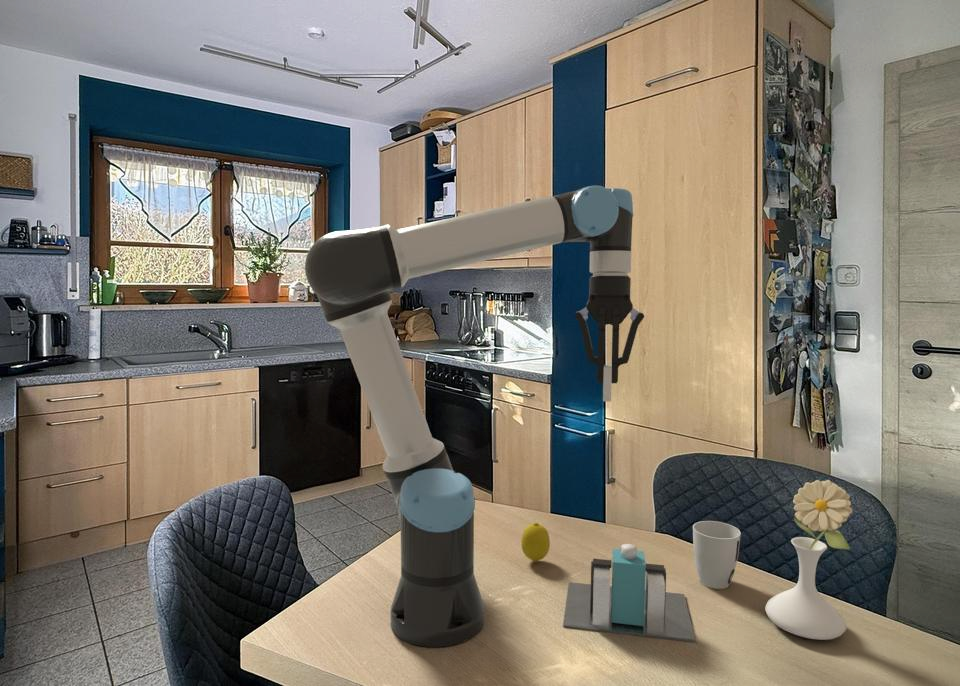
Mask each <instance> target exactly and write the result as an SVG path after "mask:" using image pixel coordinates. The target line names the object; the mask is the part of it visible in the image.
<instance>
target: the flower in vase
mask: <svg viewBox="0 0 960 686" xmlns="http://www.w3.org/2000/svg"><path fill="white" fill-rule="evenodd" d="M850 497H851V495H850V494H849V493H847V491H846V490H845V489H843V487H841V486H839V485H838V484H836V483H835V482H831V480H829V479H826V480H821V481H820V480H819V479H816V480H815V481H813V482H805V483H804V486H803V487H800V488H799V489H798V492H797V494H795V495H794V496H793V500H792V503H793V504H794V506H793V509H794V511H796V512H795V514H794V516H793V519H794V522H795V523H796V525H797V526H798V527H799V528H800V529H801V530H803V531H804V532H806V533H807V534H809V535H810V536H812V537H813V538H812V537H806V536H805V537H804V536H798V537H797V536H796V537H793V538H791V540H790V542H791V544H792V545H793V547H794V549H795V551H796V553H797V558H798V559H797V560H798V567H799V570H798V571H799V573H798V581H797V583H796V585H795V586H794V587H793V588H790V589H788V590H784V591H782V592H779V593H777V594H775V595H774V596H772V597H771V598H770V599H769V600H768V601H767V603H766V604H765V607H764V610H765V612H766V615H767V616H768V618H769V619H770V621H771V622H772V623H774V624H775V626H777V627H779V628H780V629H782V630H784V631H786V632H788V633H790V634H792V635H795V636H799V637H803V638H806V639H810V640H821V641H822V640H825V641H828V640H833V639H836V638H839V637H840V636H841V635H843V634H844V633H845V632H846V630H847V624H846V621H845V618H844V616H843V615H842V614H841V613H840V611H839V610H838V609H837V608H836V607H835V606H834V605H833V604H832V603H831V602H829V600H827V599H826V598H824V596H823V595H821V594H820V592H818V590H817V587H816V571H817V565H818V562H819V559H820V557H821V555H823V553H824V552H825V551H826V550H827V549H828V546H829V547H830V548H834V549H840V550H851V547H850V546H849V543H848V541H847V540H846V538H845V537H844V535H843V534H842V533H841V532H840V531H839V530H838V529H840V528H841V527H842V524H843V523H845V522H848V518H849V517H850V514H851V515H852V513H853V508H851V507H850V506H851V505H852V502H851V500H850ZM817 531H818V532H821V533H820V534H819V535H818V536H817V537H816V535H815V534H814V533H813V532H817ZM823 536H824V538H825V540H826V542H827V544H826V543H825V542H822V541H820V539H821V538H822V537H823ZM827 545H828V546H827Z"/></svg>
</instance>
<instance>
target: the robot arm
mask: <svg viewBox="0 0 960 686" xmlns="http://www.w3.org/2000/svg"><path fill="white" fill-rule="evenodd" d="M633 205H634V203H633V195H632V192H631V191H630V190H628V189H625V188H614V187H613V188H606V187H605V186H602V185H589V186H584V187H581V188H580V189H577V190H573V191H568V192H564V193H560V194H556V195H553V196H547V197H541V198H535V199H532V200H528V201H523V202H517V203H514V204H510V205H509V204H508V205H503V206H500V207H495V208H490V209H486V210H482V211H478V212H477V211H476V212H473V213H468V214H463V215H458V216H453V217H450V218H444V219H439V220H435V221H431V222H426V223H421V224H417V225H413V226H408V227H403V228H399V229H395V228H394V227H393V226H391V225H389V224H385V225H381V226H380V225H379V226H375V227H369V228H362V229H351V230H350V229H348V230H336V231H333V232H332V231H331V232H328V233H326V234H324V235H323V236H321V237H319V238H318V239H317V240H316V241H315V242H314V243H313V244H312V245H311V247H310V248H309V250H308V252H307V254H306V257H305V262H304V263H305V264H304V270H305V271H304V272H305V277H306V281H307V283H308V285H309V286H310V288H311V289H312V292H314V293H315V294H316V297H317V298H318V302H319V305H320V307H321V309H322V312H323V315H324V317H325V319H326V322H327V324H328V325H330V326H332V327H334V328H335V329H338V330H339V331H340V334H341V337H342V339H343V342H344V345H345V347H346V350H347V352H348V355H349V359H350V360H351V364H352V365H353V368H354V372H355V373H356V374H355V375H356V377H357V379H358V382H359V384H360V388H361V391H362V392H363V394H364V398H365V400H366V403H367V405H368V408H369V410H370V413H371V414H370V415H371V416H372V419H373V421H374V424H375V427H376V430H377V432H378V435H379V437H380V441H381V443H382V445H383V448H384V451H385V454H386V457H385V459H384V461H383V463H382V467H381V468H382V470H383V473H384V475H385V478H386V481H387V483H388V486H389V489H390V492H391V493H392V496H393V499H394V502H395V505H396V511H397V516H398V519H399V528H400V571H401V572H400V578H399V581H398V584H397V587H396V591H395V594H394V598H393V601H392V603H391V606H390V627H391V629H392V632H393V633H394V634H395V635H396V636H397V637H398V638H399V639H402V640H403V641H404V642H407V643H409V644H411V645H415V646H420V647H427V648H440V647H441V648H442V647H451V646H455V645H457V644H461V643H463V642H466V641H468V640H470V639H472V638H473V637H475V636H476V635H477V634H478V633H479V632H480V631H481V630H482V629H483V626H484V624H485V604H484V600H483V597H482V594H481V591H480V588H479V585H478V582H477V580H476V576H475V573H474V572H475V571H474V567H475V566H474V565H475V563H474V557H475V555H474V552H475V551H474V550H475V549H474V547H475V546H474V545H475V541H474V540H475V539H474V538H475V537H474V536H475V535H474V534H475V533H474V532H475V529H474V528H475V522H474V521H475V509H476V508H475V507H476V501H475V500H476V499H475V495H474V486H473V484H472V482H471V480H470V479H469V478H468V477H467V476H465V474H463V473H460V472H456V471H455V470H454V469H453V466H452V464H451V461H450V458H449V455H448V452H447V450H446V447H445V445H444V443H443V442H442V441H440V440H438V439H436V438H434V437H433V436H432V433H431V431H430V428H429V425H428V422H427V419H426V416H425V413H424V411H423V408H422V406H421V403H420V400H419V397H418V394H417V392H416V389H415V385H414V383H413V380H412V378H411V375H410V372H409V369H408V367H407V364H406V361H405V358H404V356H403V353H402V350H401V346H400V345H399V343H398V339H397V337H396V333H395V331H394V327H393V325H392V322H391V320H390V317H389V315H388V310H389V309H390V307H391V305H392V303H393V300H392V297H391V294H390V292H389V291H391V290H397V289H400V288H403V287H404V286H405V284H407V282H408V280H409V279H414V278H418V277H421V276H426V275H431V274H435V273H439V272H445V271H447V270H451V269H456V268H460V267H464V266H468V265H473V264H477V263H481V262H485V261H489V260H493V259H498V258H501V257H502V258H503V257H507V256H510V255H515V254H520V253H523V252H527V251H532V250H536V249H541V248H545V247H549V246H553V245H556V244H557V245H558V244H562V243H568V242H570V243H577V242H580V243H581V242H582V243H589V251H590V252H589V273H590V274H592V276H590V277H589V280H588V281H589V284H588V285H589V286H588V287H589V288H588V289H589V291H588V300H587V302H586V304H585V307H584V308H582V309H581V310H578V311H576V312H575V313H574V318H575V319H576V321H577V322H578V324H579V326H580V331H581V336H582V339H583V343H584V349H585V353H586V356H587V358H586V359H587V361H588V362H589V363H591V364H593V365H596V367H597V368H596V369H597V372H596V376H597V379H596V381H597V383H598V384H602V402H608V403H609V402H610V403H611V402H612V384H617V383H618V380H619V367H620V366H621V365H625V364H628V363H629V360H630V357H631V353H632V351H633V350H632V349H633V346H634V343H635V338H636V336H637V335H636V334H637V331H638V328H639V326H640V323H642V321H643V320H644V318H645V314H644V313H643V312H641V311H639V310H637V309H635V308H634V305H633V302H632V301H631V284H632V283H631V282H632V278H631V276H630V275H628V274H630V273H631V272H632V242H633V240H632V238H633V237H632V234H633V218H634V210H633V208H634V207H633ZM588 313H589V314H590V316H591V318H592V319H593V320H594V321H595V323H597V325H598V330H597V331H598V333H597V335H598V336H597V356H596V355H595V353H594V349H593V344H592V340H591V336H590V331H589V326H588V322H587V320H588V318H589V317H588V316H589V315H588ZM629 314H630V317H629V319H630V320H631V324H630V327H629V329H628V332H627V336H626V337H627V338H626V341H625V345H624V348H623V350H622V351H623V352H622V355H621V356H620V357H619V353H620V352H619V351H620V350H619V347H620V324H622V323H623V322H624V321H625V319H626V318H627V317H628V315H629ZM606 325H612V331H611V335H612V336H611V337H612V338H611V364H610V365H609V364H605V347H606V343H605V342H606Z"/></svg>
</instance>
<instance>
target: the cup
mask: <svg viewBox="0 0 960 686" xmlns="http://www.w3.org/2000/svg"><path fill="white" fill-rule="evenodd" d="M741 535H742V533H741V531H740V529H739V528H738V527H735V526H734V525H731V524H729V523H726V522H722V521H715V520H702V521H701V520H700V521H698V522H695V523H694V524H692V544H693V545H692V546H693V555H694V562H695V568H696V572H697V575H698V579H699V582H700V583H701V584H702V585H703V586H704V587H705V586H706V587H708V588H710V589H715V590H724V589H727V588H728V587H729V586H730V584H731V581H732V579H733V577H734V575H735V570H736V568H737V562H738V559H739V553H740V542H741Z"/></svg>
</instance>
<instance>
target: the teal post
mask: <svg viewBox="0 0 960 686" xmlns="http://www.w3.org/2000/svg"><path fill="white" fill-rule="evenodd" d="M620 548H621V549H620ZM620 548H612V568H611V586H612V596H611V622H612V623H620V624H629V625H638V626H644V606H645V584H646V564H647V563H646V555H645V551H644V550H642V551H641V550H637V549H638V547H637V546H636V545H634V544H631V543H624V544H622V545H621V547H620Z"/></svg>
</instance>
